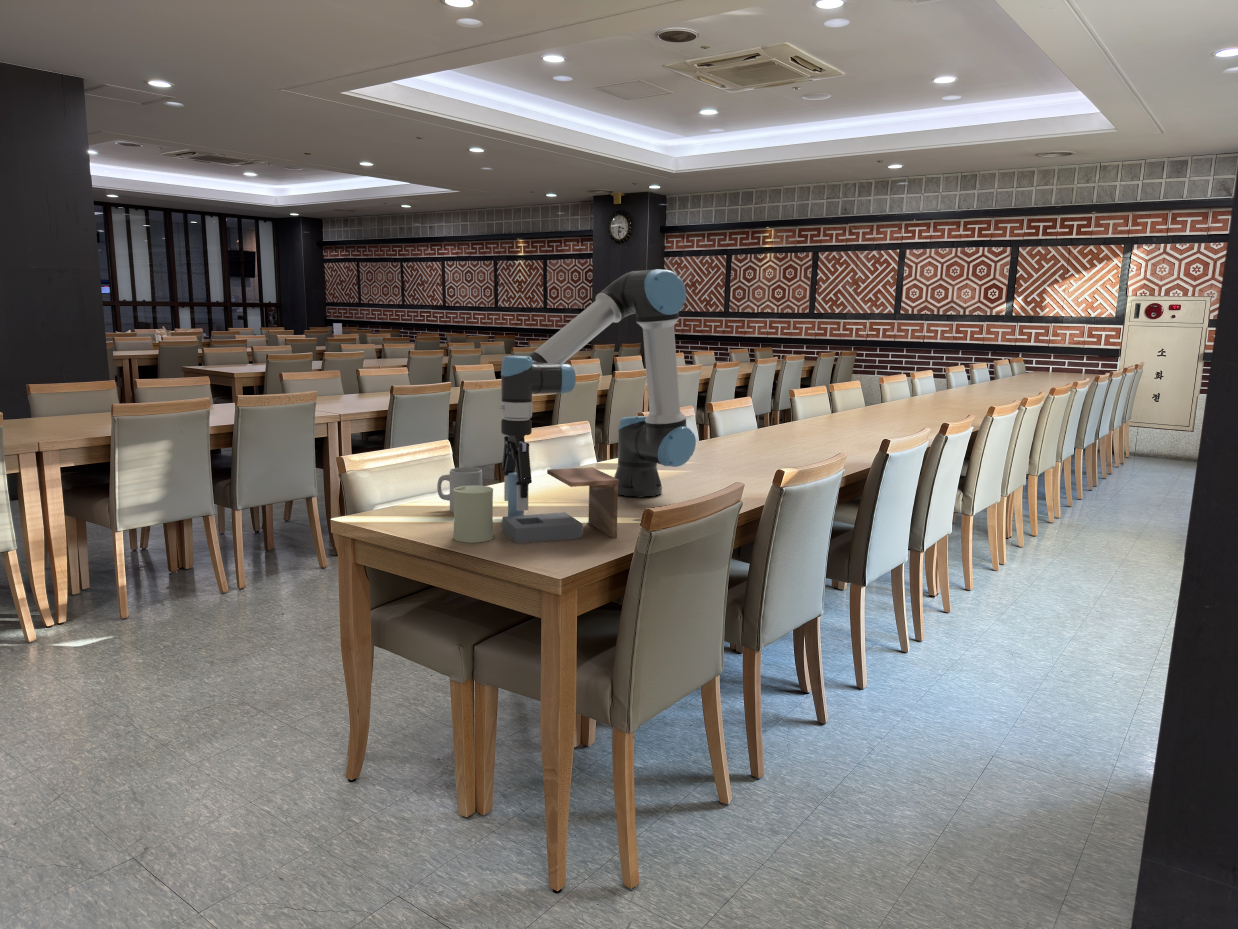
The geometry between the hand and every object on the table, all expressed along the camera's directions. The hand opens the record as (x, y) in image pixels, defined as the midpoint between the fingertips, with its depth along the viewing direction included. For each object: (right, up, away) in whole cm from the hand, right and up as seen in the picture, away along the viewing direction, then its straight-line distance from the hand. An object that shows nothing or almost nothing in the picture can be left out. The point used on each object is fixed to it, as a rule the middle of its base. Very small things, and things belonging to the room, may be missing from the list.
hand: (516, 505), depth 209 cm
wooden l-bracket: (+17, -6, -8) cm, 20 cm away
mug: (-16, -2, +10) cm, 19 cm away
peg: (0, -4, +1) cm, 4 cm away
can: (-8, -7, -16) cm, 20 cm away
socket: (+8, -6, -12) cm, 16 cm away
